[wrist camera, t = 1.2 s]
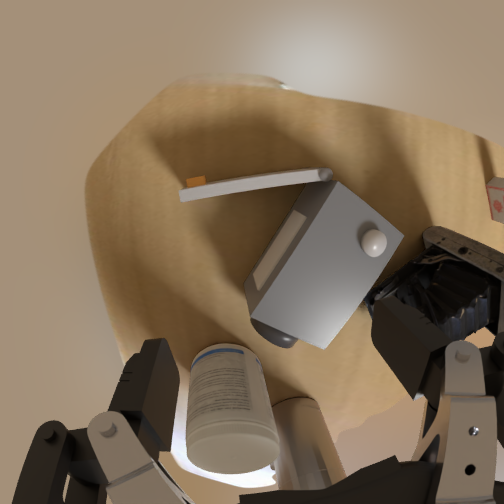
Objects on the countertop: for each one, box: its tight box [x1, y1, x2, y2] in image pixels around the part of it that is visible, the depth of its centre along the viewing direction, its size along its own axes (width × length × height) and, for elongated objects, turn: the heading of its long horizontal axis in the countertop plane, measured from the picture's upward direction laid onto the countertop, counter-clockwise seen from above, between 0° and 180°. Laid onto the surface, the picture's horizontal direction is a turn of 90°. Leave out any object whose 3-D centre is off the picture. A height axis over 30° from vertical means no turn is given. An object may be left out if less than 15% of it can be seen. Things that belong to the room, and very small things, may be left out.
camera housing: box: [244, 180, 404, 349], centre depth 27 cm, size 16×9×8 cm, turn 148°
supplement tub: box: [186, 343, 280, 474], centre depth 28 cm, size 10×10×15 cm
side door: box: [179, 168, 333, 202], centre depth 24 cm, size 13×2×6 cm, turn 98°
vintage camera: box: [364, 226, 504, 342], centre depth 24 cm, size 10×16×20 cm, turn 121°
